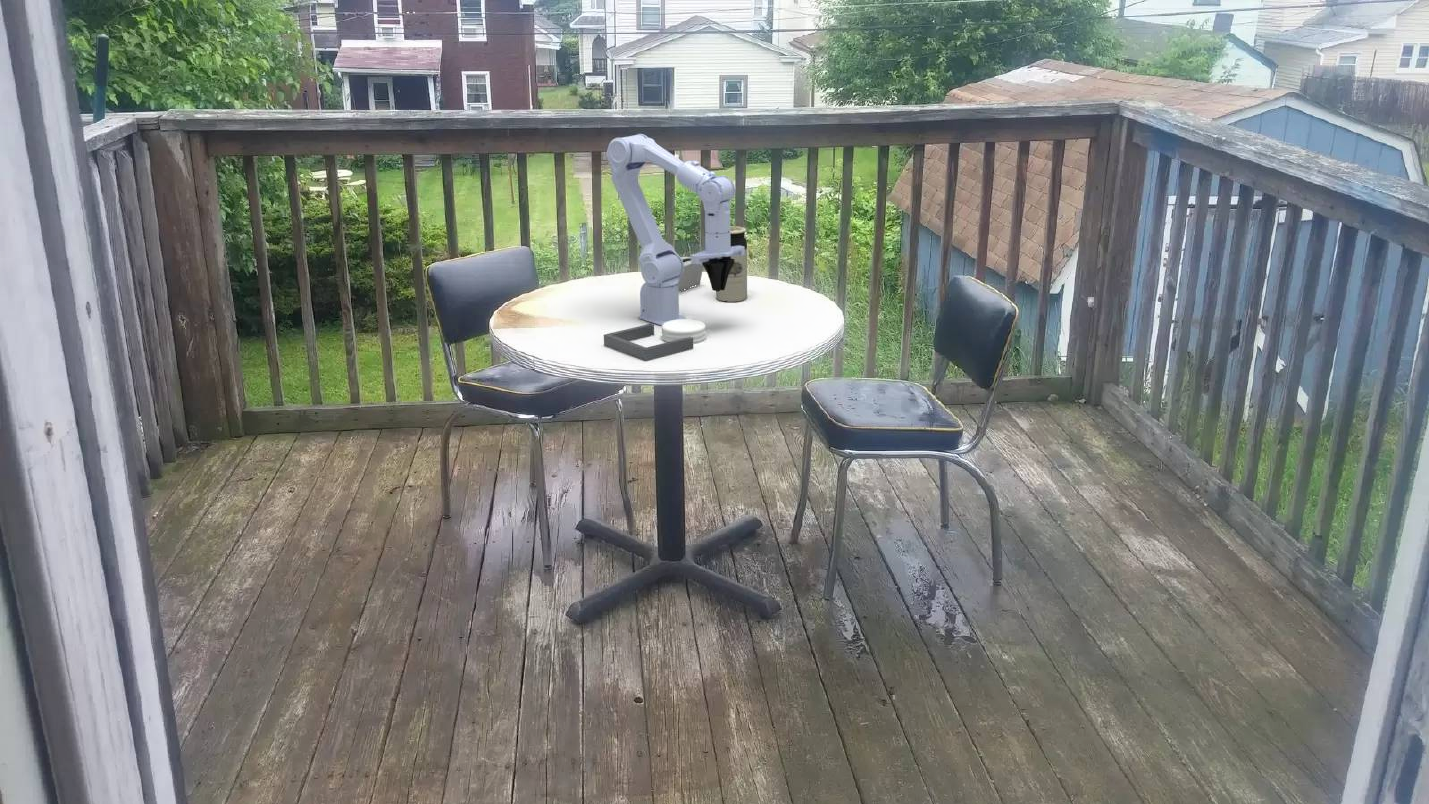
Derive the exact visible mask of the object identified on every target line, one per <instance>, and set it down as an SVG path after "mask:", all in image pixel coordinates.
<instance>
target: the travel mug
mask: <svg viewBox="0 0 1429 804" xmlns="http://www.w3.org/2000/svg"><path fill="white" fill-rule="evenodd" d="M746 231H747V228H746V227H742V226H738V225H737V226H736V225H735V226H734V225H733V226H732V225H730V242H731V246H744V247H745V255H737V256H732V257H731V258H732V259H734V260H735V263H734V265H733V267H732V268H731V270H730V273H729V275H728V279H727V282H726V286H725V290H720V291H715V298H716V300H718V301H721V302H724V301H727V302H726V303H738V301H739V302H742V301H745V300H746V299H747V298H748V241H747V239H746V237H745V233H746Z"/></svg>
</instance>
